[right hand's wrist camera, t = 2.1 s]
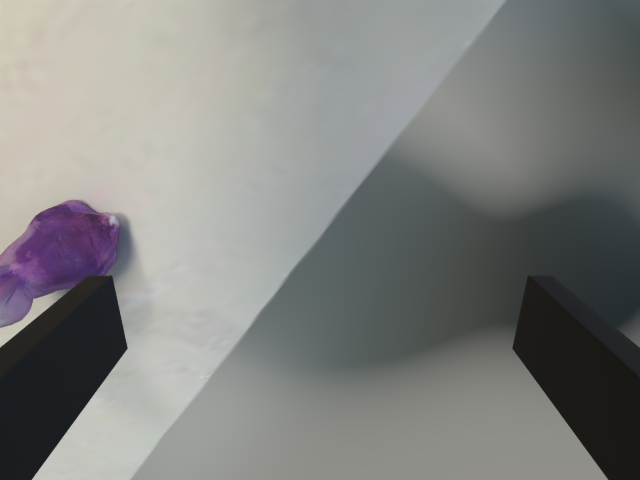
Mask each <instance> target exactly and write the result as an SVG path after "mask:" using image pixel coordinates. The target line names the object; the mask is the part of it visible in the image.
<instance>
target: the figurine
mask: <svg viewBox="0 0 640 480" xmlns="http://www.w3.org/2000/svg"><path fill="white" fill-rule="evenodd" d="M118 237H119V222H118V219H117V218H116V217H115V215H113V214H112V213H97V212H95V211H93V210H92V209H90V208H89V207H87V206H86V205H85V204H84V203H82V202H81V201H78V200H69V201H66V202H63V203H61V204H59V205H57V206H54V207H52V208H49V209H47V210H45V211H43V212H41V213H39V214H37V215H36V216H35V217H34V219H33V220H32V221H31V223H30V224H29V226H28V228H27V230H26V231H25V232H24V234H23V235H22V236H21V237H19V238H18V239H17V240H16V241H15V242H13V243H12V244H11V245H10V246H9V247H8V248H7V249H6V250H5V251H4V252H3V253H2V254H1V255H0V328H1V327H5V326H9V325H12V324H14V323H16V322H19V321H21V320H22V319H23V318H24V317H25V316H26V315H27V314H28V312H29V311H30V309H31V306H32V302H33V299H34V298H38V297H42V296H45V295H48V294H50V293H53V292H55V291H58V290H63V289H69V288H74V287H75V286H76V285H77V284H78V283H80V282H81V281H82V280H83V279H85V278H86V277H87V276H104V275H105V274H106V273H107V272H108V270H109V269H110V268H111V267H112V265H113V264H114V263H115V262H116V259H117V252H116V247H117V244H118Z"/></svg>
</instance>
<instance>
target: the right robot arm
mask: <svg viewBox="0 0 640 480" xmlns="http://www.w3.org/2000/svg"><path fill="white" fill-rule="evenodd" d="M127 349H128V348H127V343H126V339H125V334H124V329H123V325H122V320H121V315H120V311H119V306H118V301H117V296H116V292H115V287H114V282H113V278H112V276H87V277H86V278H85V279H83V280H82V281H81V282H80V283H78V284H77V285H76V286H75V287H74V288H72V289H71V290H70V291H69V292H68V293H66V294H65V295H64V296H63V297H61V298H60V299H59V300H58V301H57V302H55V303H54V304H53V305H52V306H50V307H49V308H48V309H47V310H46V311H44V312H43V313H42V314H41V315H40V316H38V317H37V318H36V319H35V320H33V321H32V322H31V323H30V324H29V325H27V326H26V327H25V328H24V329H22V330H21V331H20V332H19V333H18V334H16V335H15V336H14V337H13V338H12V339H10V340H9V341H8V342H7V343H5V344H4V345H3V346H2V347H1V348H0V480H32V479H33V477H34V476H35V474H36V473H37V472H38V470H39V469H40V468H41V466H42V465H43V463H44V462H45V461H46V459H47V458H48V457H49V455H50V454H51V453H52V451H53V450H54V448H55V447H56V446H57V444H58V443H59V442H60V440H61V439H62V437H63V436H64V435H65V433H66V432H67V431H68V429H69V428H70V427H71V425H72V424H73V422H74V421H75V420H76V418H77V417H78V416H79V414H80V413H81V411H82V410H83V409H84V407H85V406H86V405H87V403H88V402H89V401H90V399H91V398H92V396H93V395H94V394H95V392H96V391H97V390H98V388H99V387H100V385H101V384H102V383H103V381H104V380H105V379H106V377H107V376H108V375H109V373H110V372H111V370H112V369H113V368H114V366H115V365H116V364H117V362H118V361H119V359H120V358H121V357H122V355H123V354H124V353H125V351H126V350H127ZM513 350H514V351H515V353H516V354H517V355H518V357H519V358H520V359H521V361H522V362H523V364H524V365H525V366H526V368H527V369H528V370H529V372H530V373H531V374H532V376H533V377H534V379H535V380H536V381H537V383H538V384H539V385H540V387H541V388H542V390H543V391H544V392H545V394H546V395H547V396H548V398H549V399H550V400H551V402H552V403H553V405H554V406H555V407H556V409H557V410H558V411H559V413H560V414H561V416H562V417H563V418H564V420H565V421H566V422H567V424H568V425H569V427H570V428H571V429H572V431H573V432H574V433H575V435H576V436H577V437H578V439H579V440H580V442H581V443H582V444H583V446H584V447H585V448H586V450H587V451H588V452H589V454H590V455H591V457H592V458H593V459H594V461H595V462H596V463H597V465H598V466H599V468H600V469H601V470H602V472H603V473H604V474H605V476H606V477H607V478H608V480H640V348H639V347H638V346H637V345H636V344H635V343H633V342H632V341H631V340H630V339H628V338H627V337H626V336H625V335H624V334H622V333H621V332H620V331H619V330H618V329H616V328H615V327H614V326H613V325H611V324H610V323H609V322H608V321H607V320H605V319H604V318H603V317H602V316H600V315H599V314H598V313H597V312H596V311H594V310H593V309H592V308H591V307H590V306H588V305H587V304H586V303H585V302H583V301H582V300H581V299H580V298H579V297H577V296H576V295H575V294H574V293H572V292H571V291H570V290H569V289H568V288H566V287H565V286H564V285H563V284H562V283H560V282H559V281H558V280H557V279H555V278H554V277H553V276H528V278H527V282H526V287H525V292H524V296H523V301H522V306H521V311H520V315H519V320H518V325H517V329H516V334H515V339H514V344H513Z"/></svg>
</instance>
